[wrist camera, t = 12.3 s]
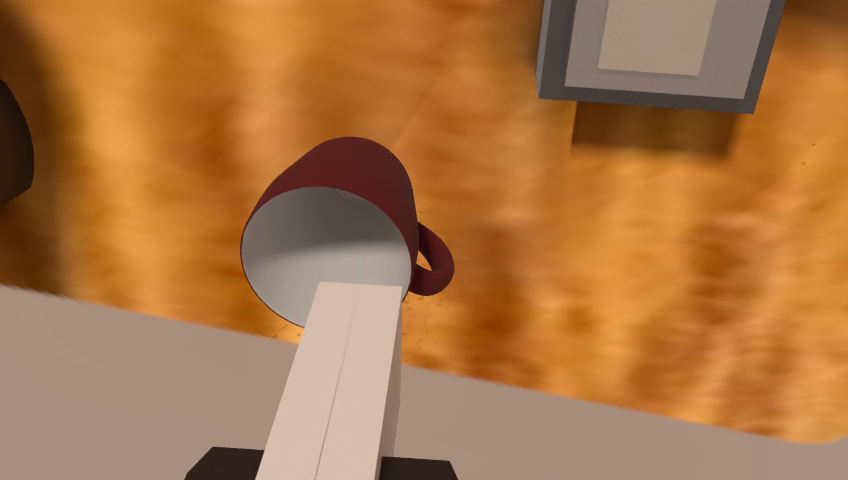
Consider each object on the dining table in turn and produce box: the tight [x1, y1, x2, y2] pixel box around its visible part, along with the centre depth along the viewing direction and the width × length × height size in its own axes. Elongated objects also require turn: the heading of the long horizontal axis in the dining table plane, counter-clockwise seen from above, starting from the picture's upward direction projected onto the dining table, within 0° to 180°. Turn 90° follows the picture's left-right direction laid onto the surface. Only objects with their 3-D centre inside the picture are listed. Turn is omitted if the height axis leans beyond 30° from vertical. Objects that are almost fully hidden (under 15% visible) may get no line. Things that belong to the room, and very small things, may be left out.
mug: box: [240, 137, 454, 328], centre depth 38 cm, size 10×8×10 cm
